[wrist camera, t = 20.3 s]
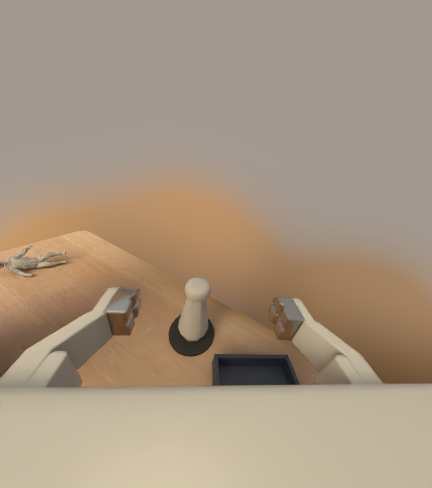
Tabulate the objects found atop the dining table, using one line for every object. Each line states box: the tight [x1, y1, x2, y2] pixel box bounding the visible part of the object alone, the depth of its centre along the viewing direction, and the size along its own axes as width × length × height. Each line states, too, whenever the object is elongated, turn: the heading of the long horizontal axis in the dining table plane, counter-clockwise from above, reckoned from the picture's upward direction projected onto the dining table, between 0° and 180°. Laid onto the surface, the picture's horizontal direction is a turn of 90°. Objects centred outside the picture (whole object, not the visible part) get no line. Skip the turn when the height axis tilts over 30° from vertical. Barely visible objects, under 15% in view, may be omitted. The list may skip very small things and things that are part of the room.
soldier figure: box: [0, 246, 66, 277], centre depth 41 cm, size 8×5×12 cm
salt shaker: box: [178, 277, 211, 341], centre depth 30 cm, size 6×6×13 cm
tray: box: [212, 354, 300, 386], centre depth 24 cm, size 13×12×3 cm
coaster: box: [169, 315, 214, 356], centre depth 33 cm, size 9×9×1 cm
